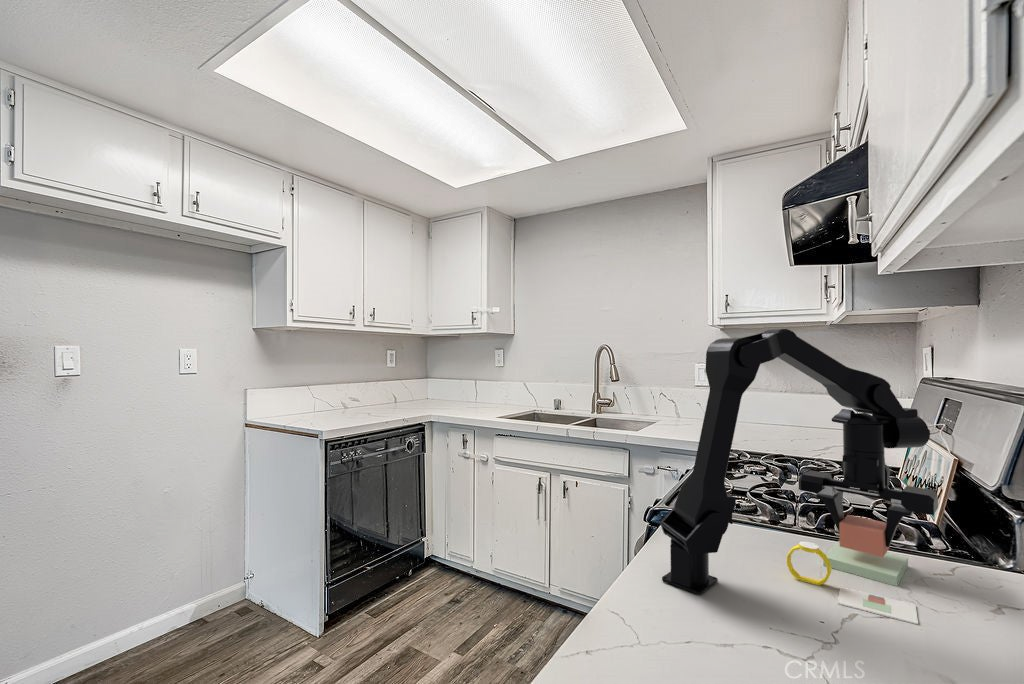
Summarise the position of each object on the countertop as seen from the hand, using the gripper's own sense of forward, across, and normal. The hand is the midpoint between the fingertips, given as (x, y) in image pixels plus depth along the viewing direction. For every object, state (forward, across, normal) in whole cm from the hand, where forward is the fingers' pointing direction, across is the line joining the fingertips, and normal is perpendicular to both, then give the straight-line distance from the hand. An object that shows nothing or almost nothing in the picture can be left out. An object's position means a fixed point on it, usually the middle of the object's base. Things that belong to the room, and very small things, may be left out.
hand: (864, 540), depth 83 cm
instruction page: (+4, -4, +14) cm, 15 cm away
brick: (+1, 0, 0) cm, 1 cm away
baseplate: (+4, 0, 0) cm, 4 cm away
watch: (+5, +5, +13) cm, 15 cm away
